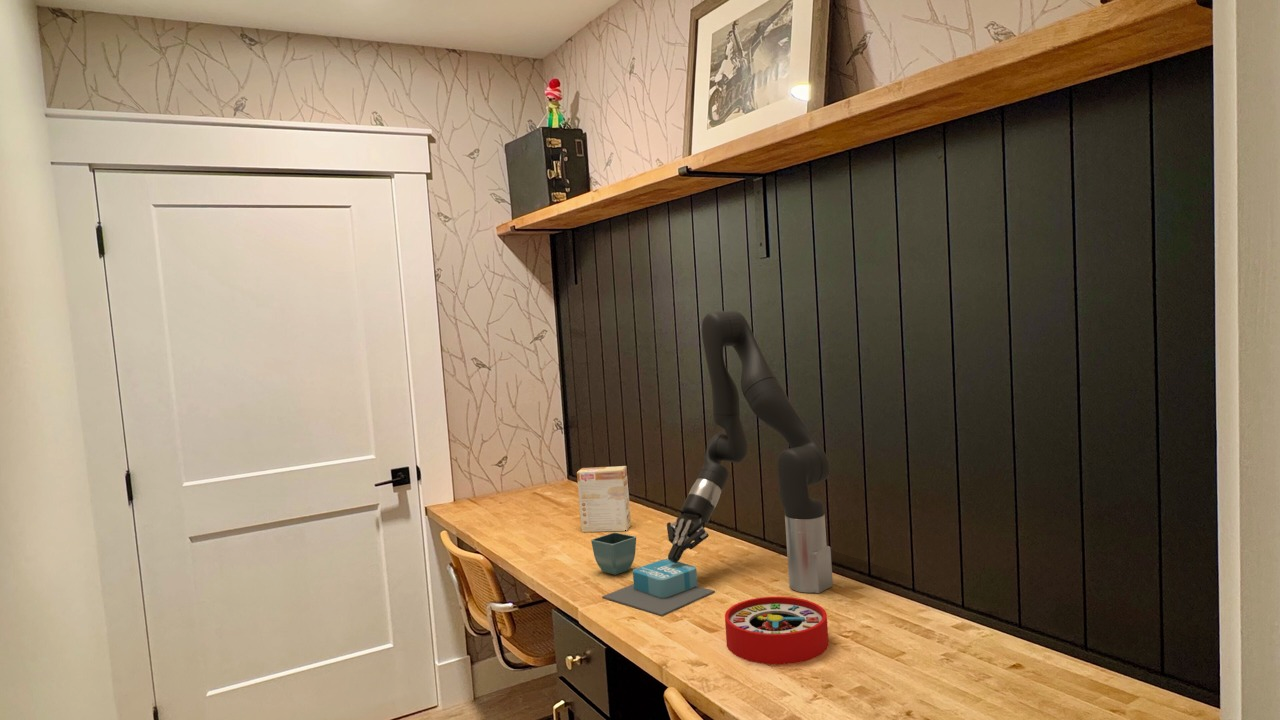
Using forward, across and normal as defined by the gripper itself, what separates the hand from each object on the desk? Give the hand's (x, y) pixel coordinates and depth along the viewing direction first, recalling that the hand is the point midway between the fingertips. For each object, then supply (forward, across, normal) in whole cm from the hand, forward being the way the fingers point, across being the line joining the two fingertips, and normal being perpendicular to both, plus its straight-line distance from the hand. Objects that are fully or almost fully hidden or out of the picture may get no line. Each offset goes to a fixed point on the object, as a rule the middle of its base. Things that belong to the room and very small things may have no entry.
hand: (672, 560), depth 193 cm
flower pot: (+5, -21, +5) cm, 22 cm away
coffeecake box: (-14, -55, +24) cm, 62 cm away
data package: (0, 0, +6) cm, 6 cm away
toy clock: (+13, +39, -4) cm, 42 cm away
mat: (+9, +1, 0) cm, 9 cm away
